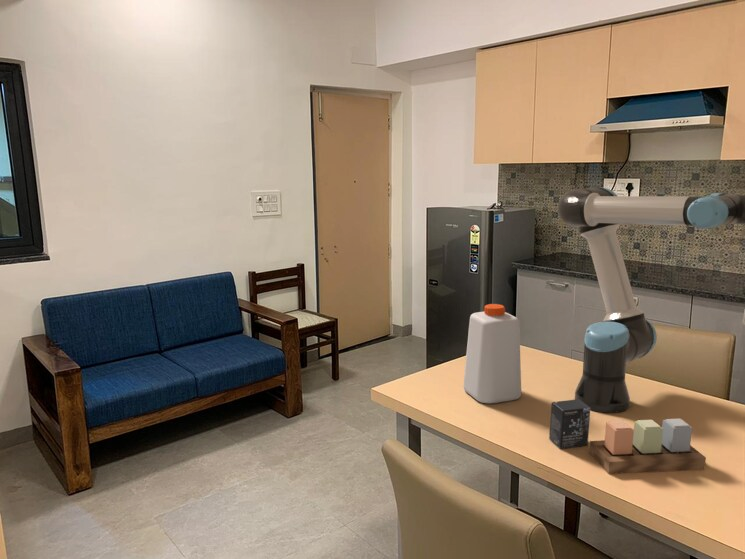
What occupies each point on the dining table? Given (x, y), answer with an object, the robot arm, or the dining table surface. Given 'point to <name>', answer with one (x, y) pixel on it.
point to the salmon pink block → (618, 437)
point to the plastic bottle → (493, 356)
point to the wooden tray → (646, 460)
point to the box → (569, 423)
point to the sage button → (647, 436)
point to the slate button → (676, 435)
